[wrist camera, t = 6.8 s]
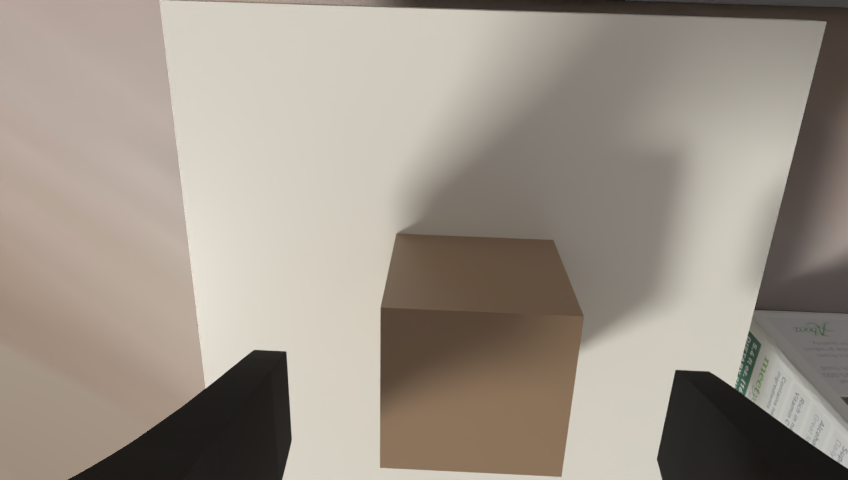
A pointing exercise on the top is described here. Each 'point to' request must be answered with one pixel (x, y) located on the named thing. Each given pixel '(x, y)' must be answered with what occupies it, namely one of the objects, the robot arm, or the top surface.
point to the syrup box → (800, 375)
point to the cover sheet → (480, 221)
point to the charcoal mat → (769, 2)
